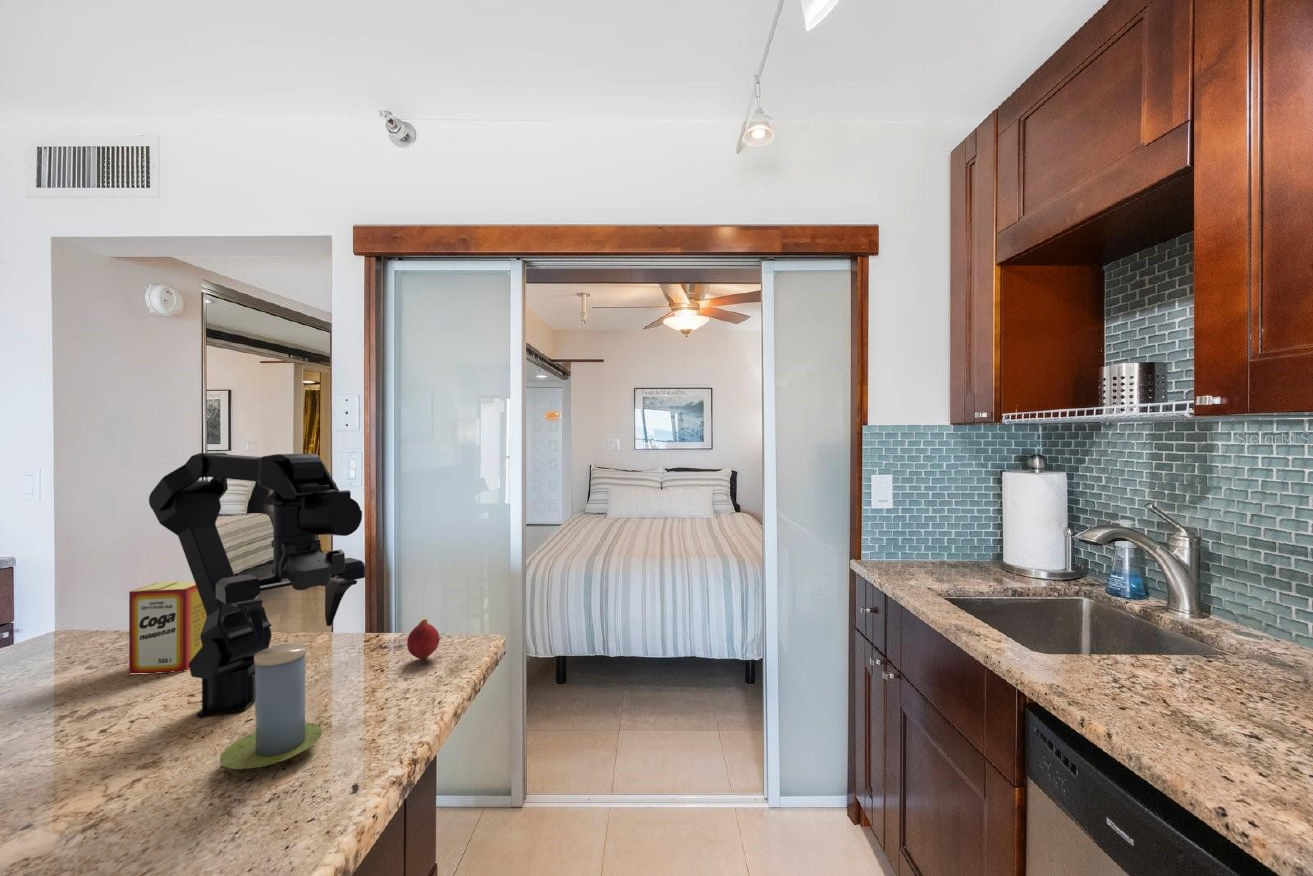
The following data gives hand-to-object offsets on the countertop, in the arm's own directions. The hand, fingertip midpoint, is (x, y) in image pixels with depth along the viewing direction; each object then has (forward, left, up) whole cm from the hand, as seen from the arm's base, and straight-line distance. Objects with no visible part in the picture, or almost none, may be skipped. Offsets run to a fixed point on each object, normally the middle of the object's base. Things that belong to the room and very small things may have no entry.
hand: (296, 633), depth 83 cm
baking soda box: (-31, +31, -13) cm, 46 cm away
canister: (+2, -12, -11) cm, 16 cm away
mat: (+1, -11, -13) cm, 17 cm away
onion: (+16, +18, -13) cm, 27 cm away
